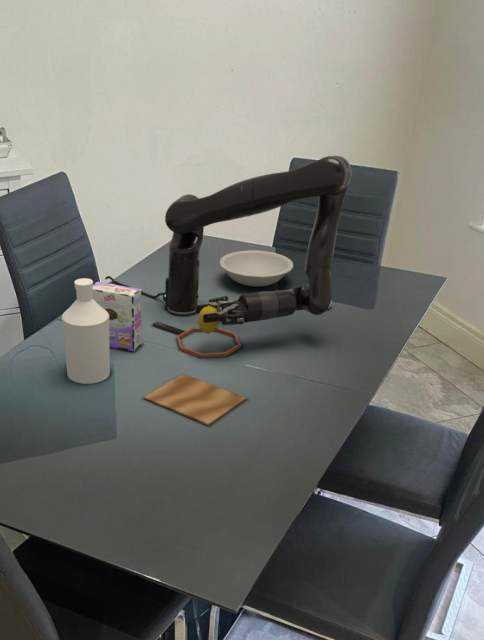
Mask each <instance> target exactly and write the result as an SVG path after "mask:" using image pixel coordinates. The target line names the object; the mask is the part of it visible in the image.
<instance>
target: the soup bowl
mask: <svg viewBox="0 0 484 640" xmlns="http://www.w3.org/2000/svg"><path fill="white" fill-rule="evenodd" d="M219 266H220V267H221V268H222V269H223V270H224V271H225V273H226V274H227V275H228V276H229V278H230V279H232V280H233V281H234V282H235V283H238V284H240V285H242V286H248V287H253V288H254V287H255V288H259V287H266V286H270V285H274V284H275V283H277V282H279V281H280V280H282V279H283V278H284V276H285V275H286V274H288V273H290V272H291V271H292V270H293V268H294V263H293V261H292V260H291V259H290V258H288V257H287V256H285V255H283V254H279V253H278V252H277V253H276V252H273V251H266V250H253V249H252V250H240V251H239V250H238V251H234V252H230V253H227V254H226V255H224V256H222V257H221V258H220V260H219Z"/></svg>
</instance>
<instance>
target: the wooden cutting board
mask: <svg viewBox="0 0 484 640" xmlns="http://www.w3.org/2000/svg"><path fill="white" fill-rule="evenodd" d="M246 399H247V398H246V397H244V396H242V395H239V394H237V393H234V392H232V391H229V390H227V389H224V388H221V387H219V386H216V385H213V384H211V383H208V382H206V381H203V380H200V379H198V378H196V377H192V376H191V375H187V374H184V373H181V374H179V375H178V376H176V377H175V378H173V379H171V380H169V381H168V382H166V383H164V384H163V385H161V386H160V387H158V388H156V389H155V390H153V391H152V392H150V393H148V394H146V395H145V396H143V400H146V401H148V402H150V403H153V404H155V405H158V406H160V407H162V408H165V409H167V410H169V411H172V412H174V413H177V414H180V415H181V416H184V417H186V418H189V419H191V420H194V421H196V422H198V423H201V424H203V425H205V426H210V425H212V424H213V423H214V422H216V421H217V420H219V419H220V418H221V417H223V416H225V415H226V414H227V413H229V412H230V411H232V410H233V409H234V408H235V409H236V408H237V407H238V406H239V405H241V404H242V403H243V402H244V401H246Z"/></svg>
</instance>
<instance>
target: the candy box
mask: <svg viewBox="0 0 484 640" xmlns="http://www.w3.org/2000/svg"><path fill="white" fill-rule="evenodd" d="M132 287H133V286H130V287H126V286H120V285H118V284H115V283H108V282H101V281H96V282H95V283H93V288H92V299H93V300H94V301H95V302H96V303H97V304H99V305H100V306H101V307H102V308H103V309H104V310H105V311H107V312H108V314H109V348H111V349H112V348H113V349H118V350H124V351H128V352H135V351H136V350H137V349H138V348H140V346H142V345H143V340H142V339H143V337H142V335H143V334H142V333H143V330H142V325H143V324H142V321H143V319H142V314H143V313H142V294H141V291H142V288H136V287H133V288H132Z"/></svg>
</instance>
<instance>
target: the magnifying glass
mask: <svg viewBox="0 0 484 640" xmlns="http://www.w3.org/2000/svg"><path fill="white" fill-rule="evenodd" d="M152 327H155V328H157V329H161V330H164V331H167V332H169V333H172V334H175V335H177V336H176V341H177V345H178V348H179V351H181V352H184V353H187V354H188V355H189V354H190V355H192V356H194V357H197V358H220V357H221V358H224V357H228V356H230V355H231V354H232V353H234V352H236V351H237V350H239V349H241V345H242V344H241V342H240V339H239V337H238V335H237V333H235V332H232V331H229V330H227V329H223V328H221V327H218V326H217V328H216V329H215V330H214V331H213V332H218V333H220V334H224V335H227V336H229V337H232V338H233V339H234V341H235V342H236V345H234V346H233V347H231V348H230V349H229V350H226V351H225V352H224V351H223V352H205V353H204V352H203V353H201V352H198V351H195V350H193V349H190V348H188V347H184V346H183V345H182V341H181V340H182V338H184V337H186V336H188V335H190V334H191V333H195V332H197V333H198V332H203V331H202V330H201V329H200V327H190V328H189V329H187V330H183V329H181V328H178V327H175V326H172V325H169V324H166V323H163V322H161V321H154V322H153V323H152Z"/></svg>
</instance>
